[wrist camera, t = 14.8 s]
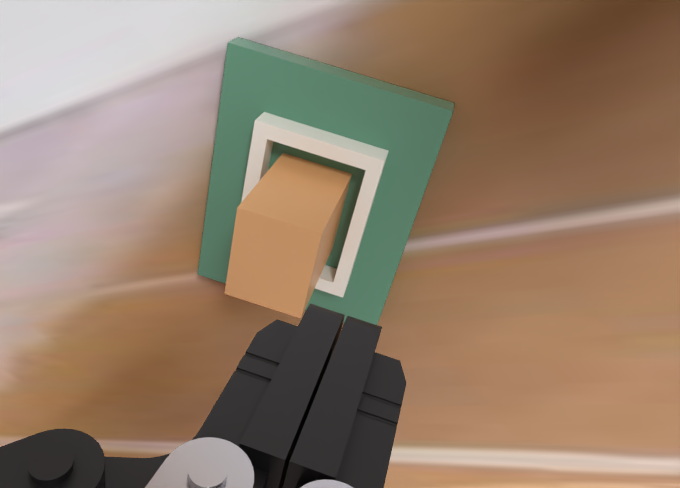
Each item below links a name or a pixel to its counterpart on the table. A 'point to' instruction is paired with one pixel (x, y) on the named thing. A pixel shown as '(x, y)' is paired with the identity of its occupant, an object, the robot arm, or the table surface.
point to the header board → (325, 162)
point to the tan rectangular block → (286, 234)
